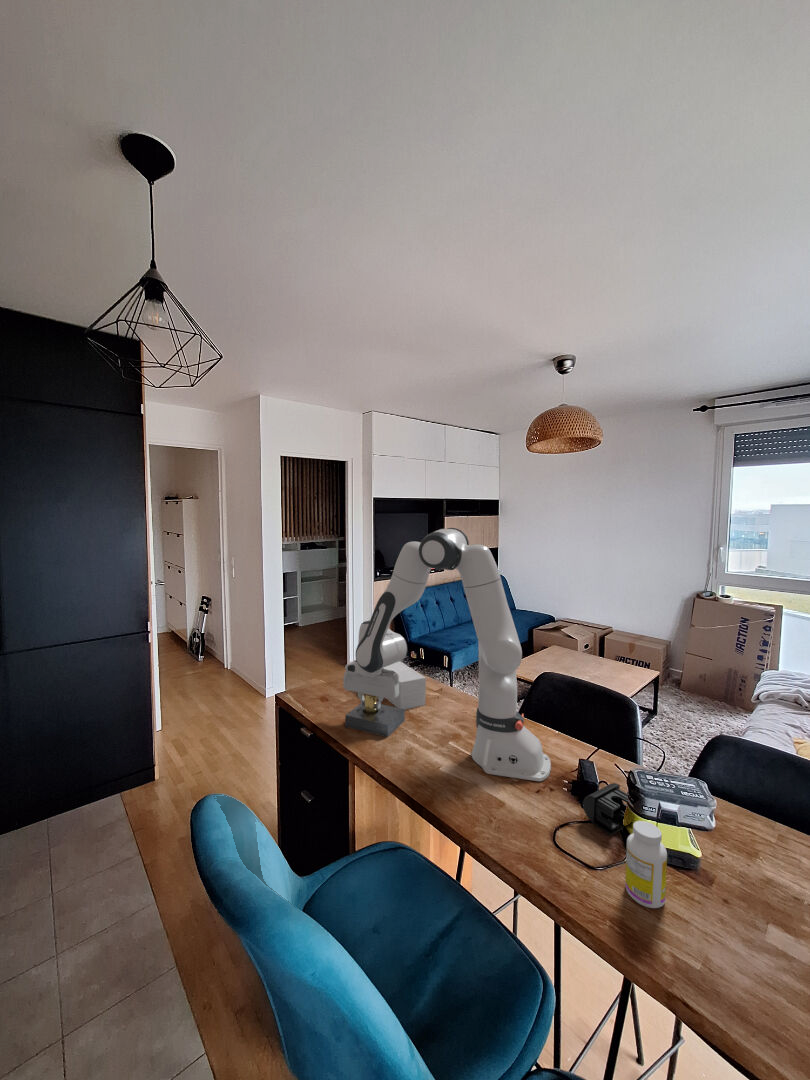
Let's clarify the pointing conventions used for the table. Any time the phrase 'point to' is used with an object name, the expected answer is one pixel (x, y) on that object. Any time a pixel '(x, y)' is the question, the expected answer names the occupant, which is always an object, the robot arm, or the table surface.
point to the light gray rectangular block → (408, 687)
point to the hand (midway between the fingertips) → (370, 706)
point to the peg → (370, 704)
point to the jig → (375, 720)
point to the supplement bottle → (646, 865)
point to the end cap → (607, 808)
